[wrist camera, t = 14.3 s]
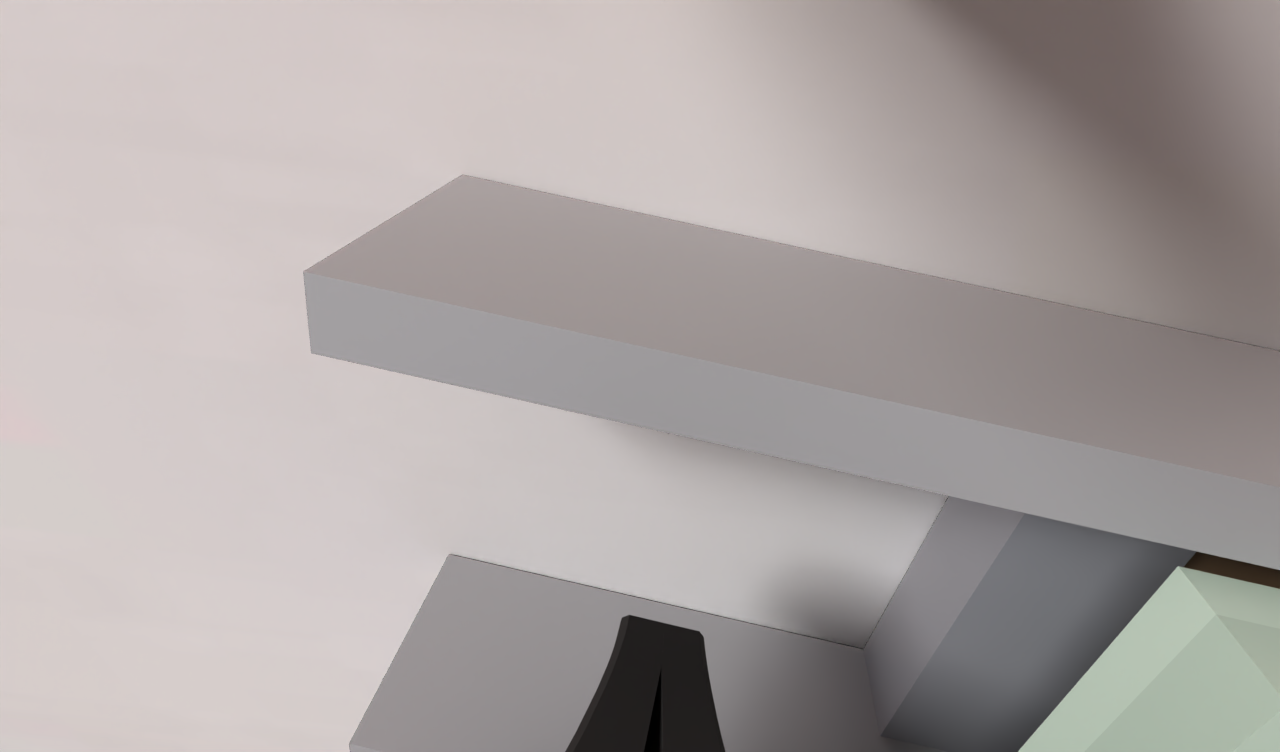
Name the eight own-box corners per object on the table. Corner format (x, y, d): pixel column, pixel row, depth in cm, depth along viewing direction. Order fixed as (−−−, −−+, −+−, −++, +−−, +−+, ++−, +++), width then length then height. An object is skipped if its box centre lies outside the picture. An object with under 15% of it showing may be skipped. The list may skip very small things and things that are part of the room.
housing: (1261, 770, 18) (1442, 1034, 14) (447, 582, 19) (352, 773, 14) (1677, 437, 12) (2262, 704, 8) (462, 174, 13) (303, 271, 8)
